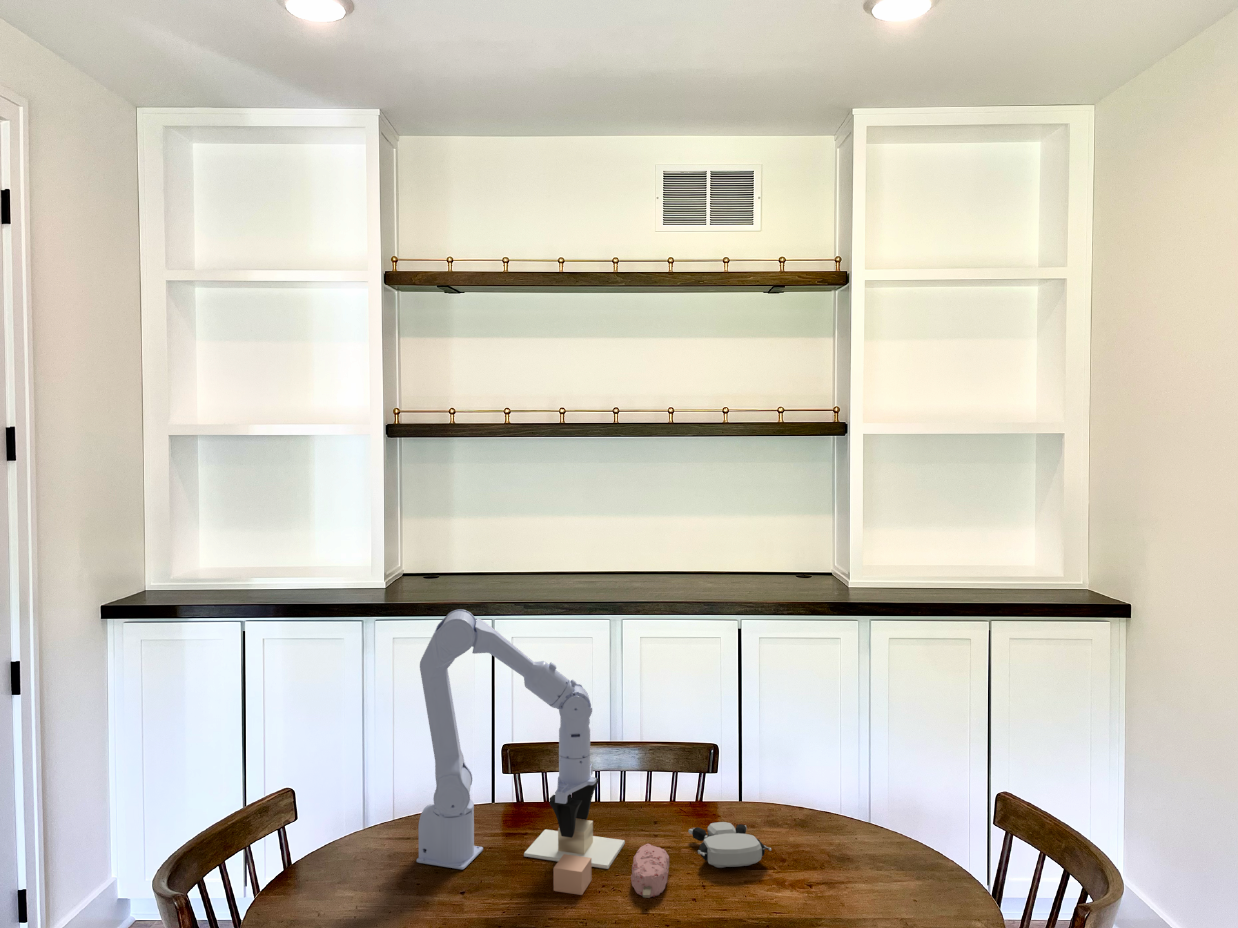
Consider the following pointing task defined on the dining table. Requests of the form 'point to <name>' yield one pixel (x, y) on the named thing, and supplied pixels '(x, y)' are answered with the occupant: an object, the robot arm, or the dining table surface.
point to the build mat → (599, 853)
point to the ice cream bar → (650, 870)
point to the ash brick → (577, 838)
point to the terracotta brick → (572, 874)
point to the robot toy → (728, 845)
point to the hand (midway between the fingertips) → (574, 826)
